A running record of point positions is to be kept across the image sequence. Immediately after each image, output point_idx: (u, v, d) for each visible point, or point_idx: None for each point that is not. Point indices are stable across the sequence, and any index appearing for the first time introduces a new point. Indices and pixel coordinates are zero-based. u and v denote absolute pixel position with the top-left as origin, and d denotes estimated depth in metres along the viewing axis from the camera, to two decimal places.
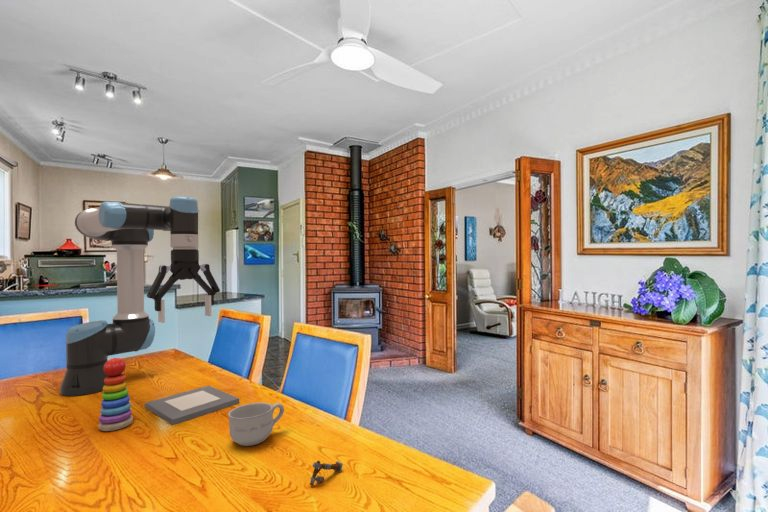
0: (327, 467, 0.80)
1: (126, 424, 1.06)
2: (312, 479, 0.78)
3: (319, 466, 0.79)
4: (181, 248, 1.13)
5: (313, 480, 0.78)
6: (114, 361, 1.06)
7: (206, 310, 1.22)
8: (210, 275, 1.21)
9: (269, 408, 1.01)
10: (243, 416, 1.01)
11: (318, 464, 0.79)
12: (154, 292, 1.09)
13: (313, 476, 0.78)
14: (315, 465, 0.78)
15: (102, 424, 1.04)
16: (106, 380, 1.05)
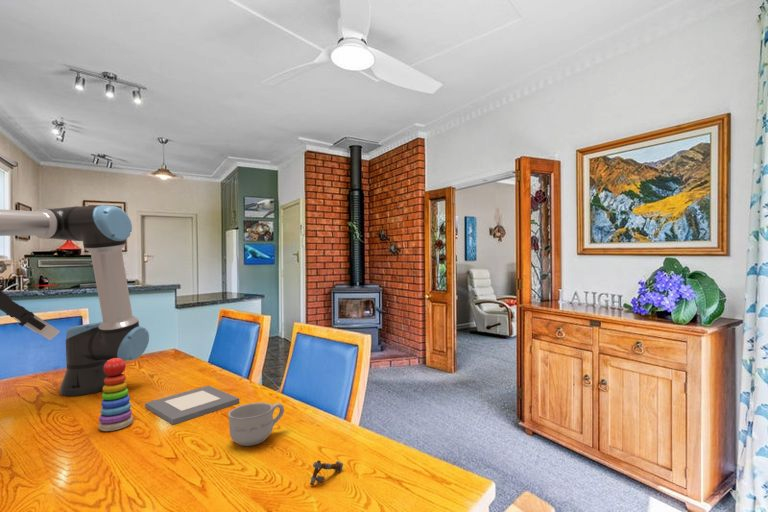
0: (327, 467, 0.81)
1: (126, 424, 1.06)
2: (312, 479, 0.78)
3: (319, 466, 0.79)
4: None
5: (313, 480, 0.78)
6: (114, 361, 1.06)
7: None
8: None
9: (269, 408, 1.01)
10: (243, 416, 1.01)
11: (318, 464, 0.79)
12: None
13: (313, 476, 0.78)
14: (315, 465, 0.78)
15: (102, 424, 1.04)
16: (106, 380, 1.05)
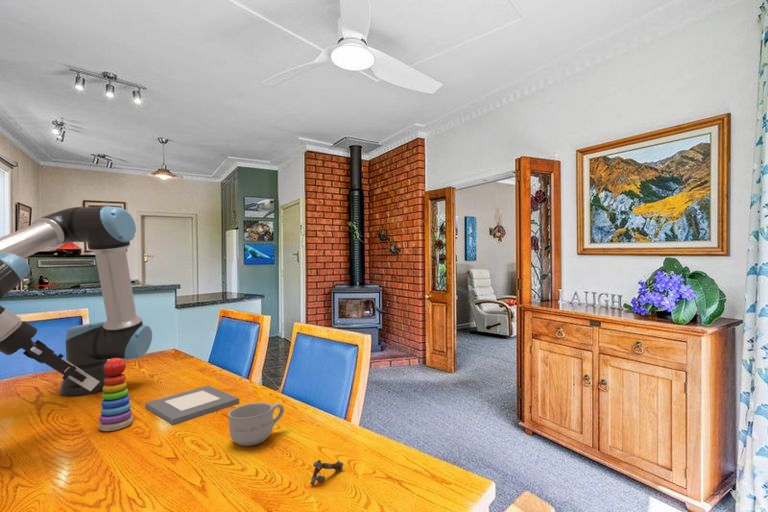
0: (328, 466, 0.81)
1: (126, 424, 1.06)
2: (313, 478, 0.78)
3: (320, 465, 0.79)
4: None
5: (314, 479, 0.78)
6: (114, 361, 1.06)
7: None
8: (43, 362, 0.89)
9: (269, 408, 1.01)
10: (243, 416, 1.01)
11: (319, 463, 0.79)
12: None
13: (314, 475, 0.78)
14: (316, 464, 0.78)
15: (102, 424, 1.04)
16: (106, 380, 1.05)
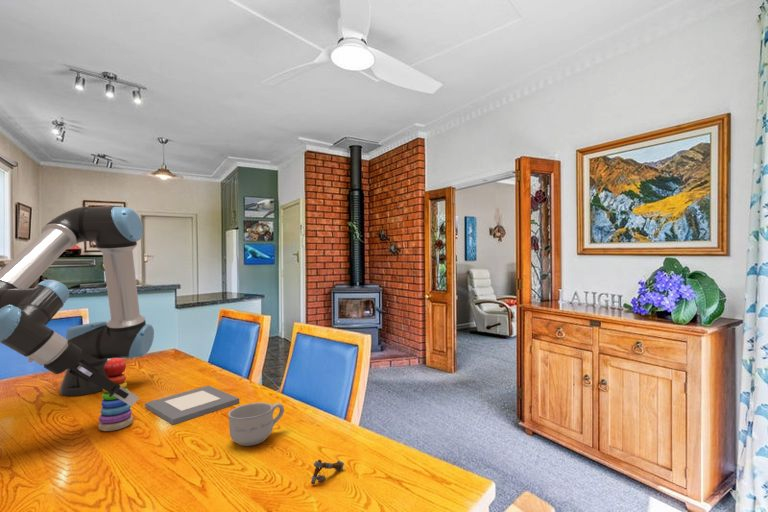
0: (328, 466, 0.81)
1: (126, 424, 1.06)
2: (313, 478, 0.78)
3: (320, 465, 0.79)
4: None
5: (314, 479, 0.78)
6: (114, 361, 1.06)
7: None
8: (92, 382, 0.98)
9: (269, 408, 1.01)
10: (243, 416, 1.01)
11: (319, 463, 0.79)
12: None
13: (314, 475, 0.78)
14: (316, 464, 0.78)
15: (102, 424, 1.04)
16: None
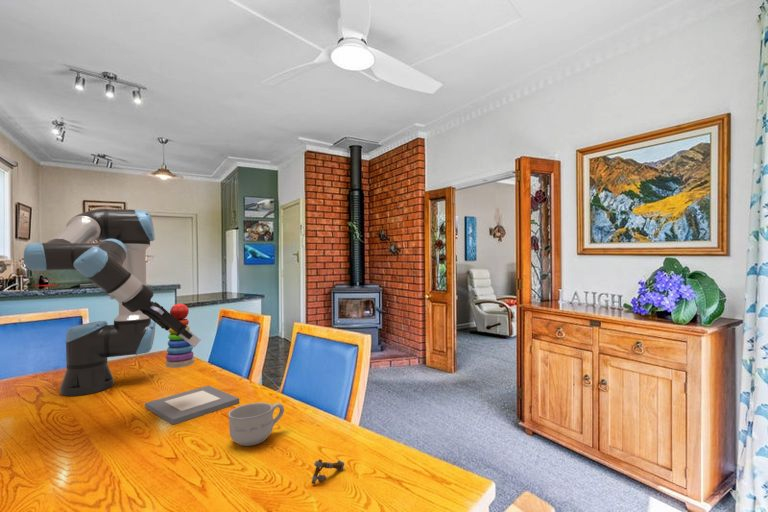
0: (329, 466, 0.81)
1: (189, 363, 1.16)
2: (314, 478, 0.78)
3: (321, 465, 0.79)
4: None
5: (315, 479, 0.78)
6: (179, 305, 1.16)
7: None
8: (163, 320, 1.09)
9: (269, 408, 1.01)
10: (243, 416, 1.01)
11: (320, 463, 0.79)
12: (159, 325, 1.19)
13: (315, 475, 0.78)
14: (317, 464, 0.79)
15: (169, 361, 1.14)
16: None
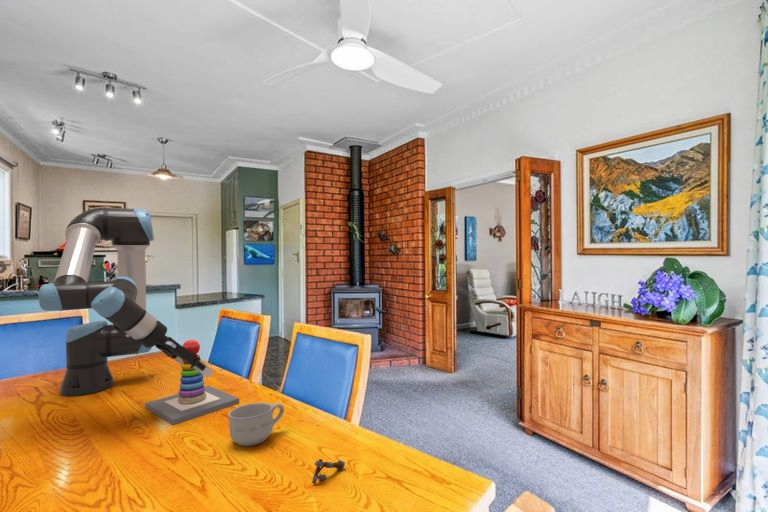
0: (329, 465, 0.81)
1: (202, 398, 1.20)
2: (314, 477, 0.78)
3: (321, 464, 0.79)
4: None
5: (315, 478, 0.78)
6: (191, 342, 1.20)
7: None
8: (177, 354, 1.11)
9: (269, 408, 1.01)
10: (243, 416, 1.01)
11: (320, 462, 0.79)
12: None
13: (315, 474, 0.79)
14: (317, 463, 0.79)
15: (182, 397, 1.18)
16: None
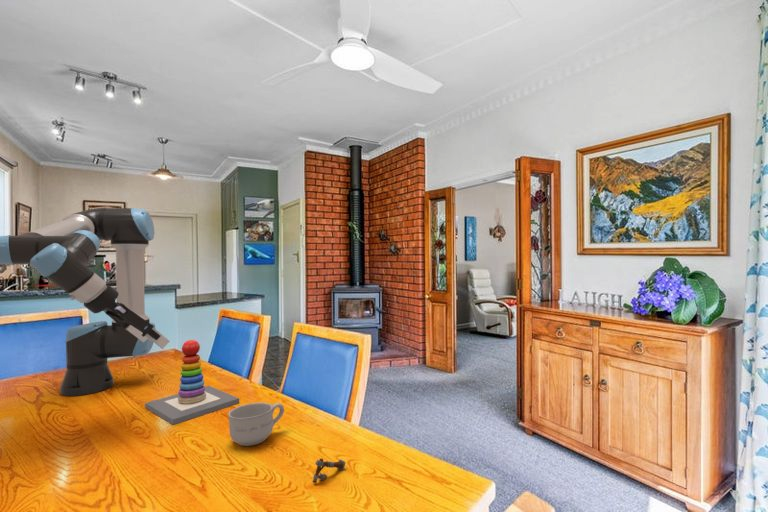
0: (330, 465, 0.81)
1: (202, 398, 1.20)
2: (315, 477, 0.79)
3: (322, 464, 0.80)
4: None
5: (316, 478, 0.78)
6: (191, 342, 1.20)
7: None
8: (126, 320, 1.02)
9: (269, 408, 1.01)
10: (243, 416, 1.01)
11: (321, 462, 0.79)
12: (117, 322, 1.14)
13: (316, 474, 0.79)
14: (318, 463, 0.79)
15: (182, 397, 1.18)
16: (185, 359, 1.19)
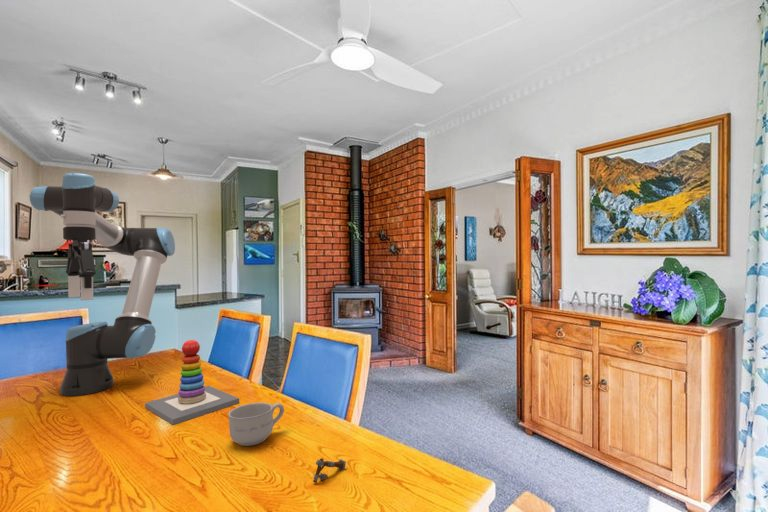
0: (330, 465, 0.81)
1: (202, 398, 1.20)
2: (315, 476, 0.79)
3: (322, 464, 0.80)
4: None
5: (316, 477, 0.79)
6: (191, 342, 1.20)
7: None
8: (81, 255, 1.08)
9: (269, 408, 1.01)
10: (243, 416, 1.01)
11: (321, 462, 0.80)
12: (67, 268, 1.19)
13: (316, 473, 0.79)
14: (318, 462, 0.79)
15: (182, 397, 1.18)
16: (185, 359, 1.19)
